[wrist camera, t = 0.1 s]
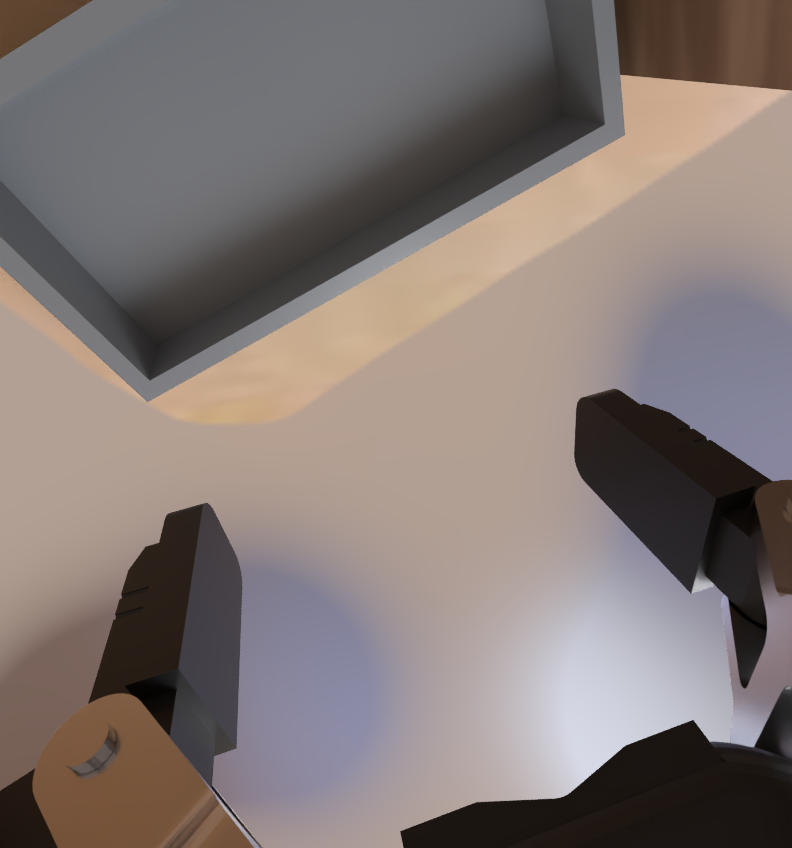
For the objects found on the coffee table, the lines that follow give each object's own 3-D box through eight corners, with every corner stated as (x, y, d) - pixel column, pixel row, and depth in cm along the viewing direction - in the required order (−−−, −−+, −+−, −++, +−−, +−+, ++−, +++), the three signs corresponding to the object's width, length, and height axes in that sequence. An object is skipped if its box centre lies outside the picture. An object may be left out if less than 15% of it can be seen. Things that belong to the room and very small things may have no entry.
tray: (157, 358, 30) (147, 402, 27) (-72, 125, 21) (-133, 143, 18) (574, 122, 28) (625, 135, 25) (520, -248, 19) (587, -314, 16)
